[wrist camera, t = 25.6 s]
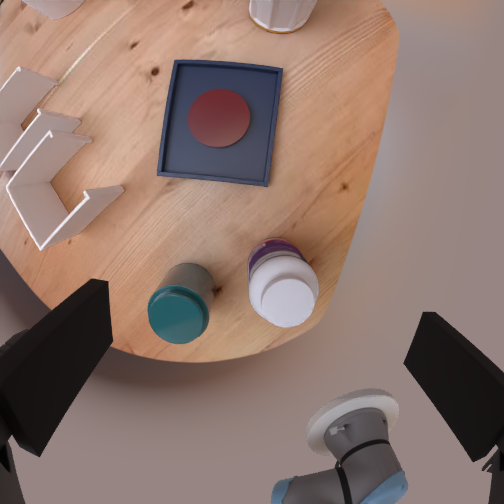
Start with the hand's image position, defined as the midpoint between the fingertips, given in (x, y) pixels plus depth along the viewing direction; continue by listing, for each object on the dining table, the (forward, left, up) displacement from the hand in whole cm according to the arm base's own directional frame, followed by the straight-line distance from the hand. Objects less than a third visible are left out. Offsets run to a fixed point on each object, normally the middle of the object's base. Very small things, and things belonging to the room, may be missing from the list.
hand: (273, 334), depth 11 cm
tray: (+13, +6, -32) cm, 35 cm away
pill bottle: (-6, -4, -32) cm, 33 cm away
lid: (+13, +6, -30) cm, 33 cm away
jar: (-12, +8, -32) cm, 35 cm away
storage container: (+8, +31, -32) cm, 45 cm away
